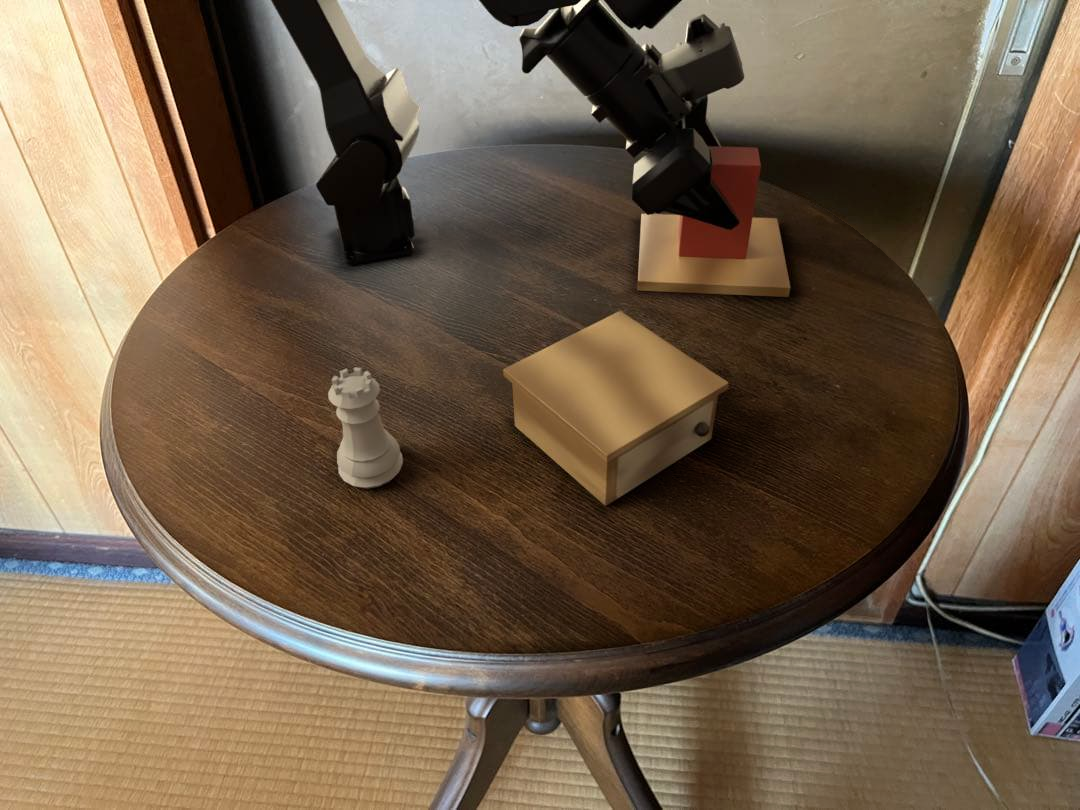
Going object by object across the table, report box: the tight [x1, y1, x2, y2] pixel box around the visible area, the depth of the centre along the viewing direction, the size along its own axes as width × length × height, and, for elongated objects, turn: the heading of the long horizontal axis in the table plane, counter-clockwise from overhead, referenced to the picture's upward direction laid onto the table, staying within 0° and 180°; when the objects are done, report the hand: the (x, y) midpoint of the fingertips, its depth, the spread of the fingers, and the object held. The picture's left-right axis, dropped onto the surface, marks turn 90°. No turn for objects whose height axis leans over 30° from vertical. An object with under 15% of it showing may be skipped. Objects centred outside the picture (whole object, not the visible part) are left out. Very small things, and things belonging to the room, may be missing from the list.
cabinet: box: [502, 310, 730, 507], centre depth 58 cm, size 11×12×5 cm
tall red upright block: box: [678, 146, 762, 259], centre depth 73 cm, size 4×6×9 cm, turn 83°
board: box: [636, 213, 791, 298], centre depth 77 cm, size 13×12×1 cm
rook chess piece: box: [327, 367, 404, 490], centre depth 55 cm, size 4×4×8 cm
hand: (732, 199), depth 73 cm, fingers open, 9 cm apart
